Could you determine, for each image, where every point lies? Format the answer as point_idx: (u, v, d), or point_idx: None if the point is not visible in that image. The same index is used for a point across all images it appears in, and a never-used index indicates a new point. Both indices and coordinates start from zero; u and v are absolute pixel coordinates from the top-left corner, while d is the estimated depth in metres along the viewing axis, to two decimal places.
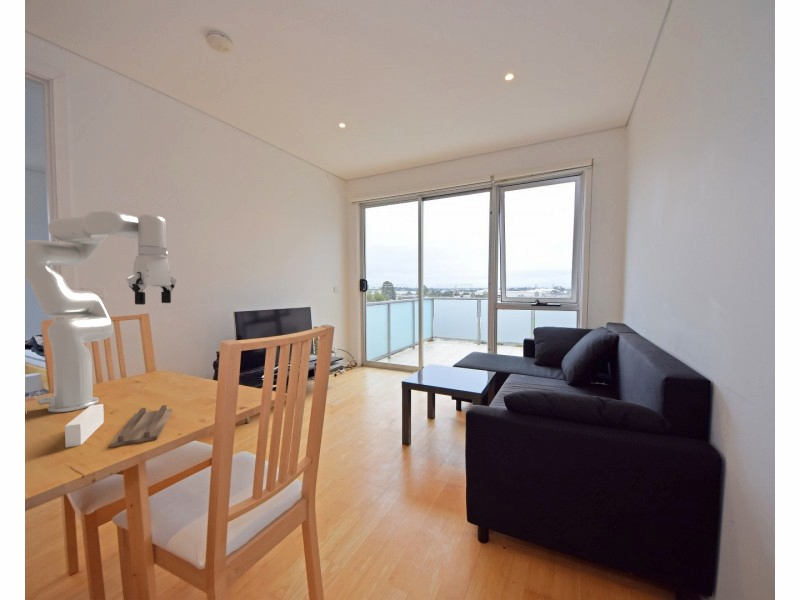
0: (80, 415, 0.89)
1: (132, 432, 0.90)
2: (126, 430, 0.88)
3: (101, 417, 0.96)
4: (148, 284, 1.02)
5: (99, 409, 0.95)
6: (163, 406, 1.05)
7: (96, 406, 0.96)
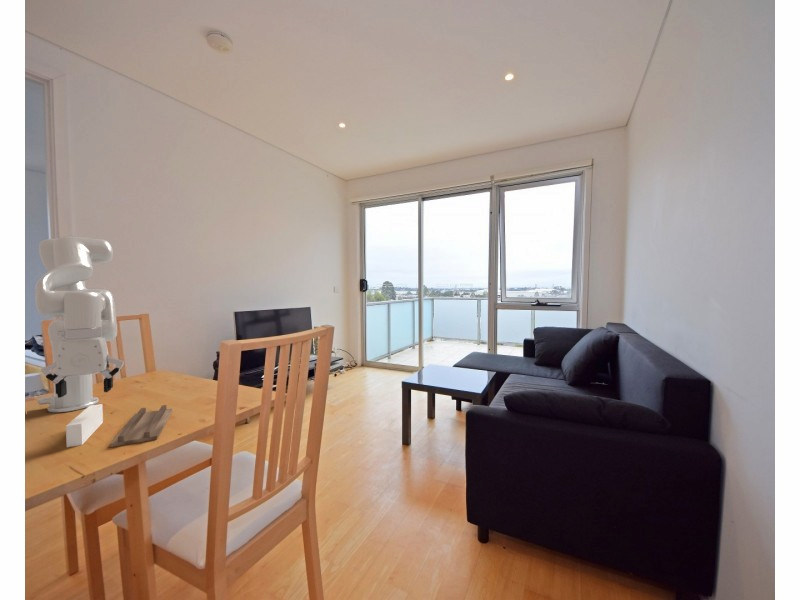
0: (80, 415, 0.89)
1: (132, 432, 0.90)
2: (126, 430, 0.88)
3: (100, 417, 0.96)
4: None
5: (98, 409, 0.95)
6: (163, 406, 1.05)
7: (96, 407, 0.96)
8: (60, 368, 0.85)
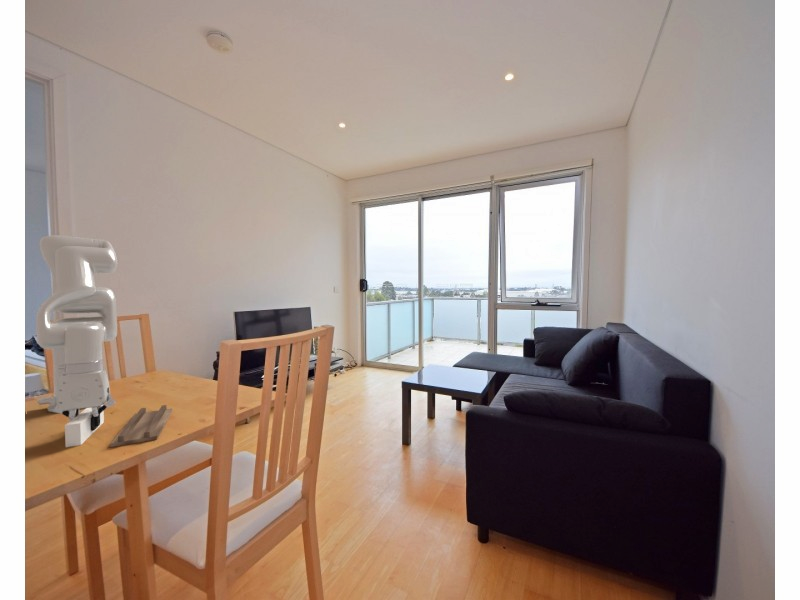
0: (80, 414, 0.89)
1: (132, 432, 0.90)
2: (126, 430, 0.88)
3: (101, 417, 0.96)
4: None
5: None
6: (163, 406, 1.05)
7: None
8: (61, 402, 0.86)
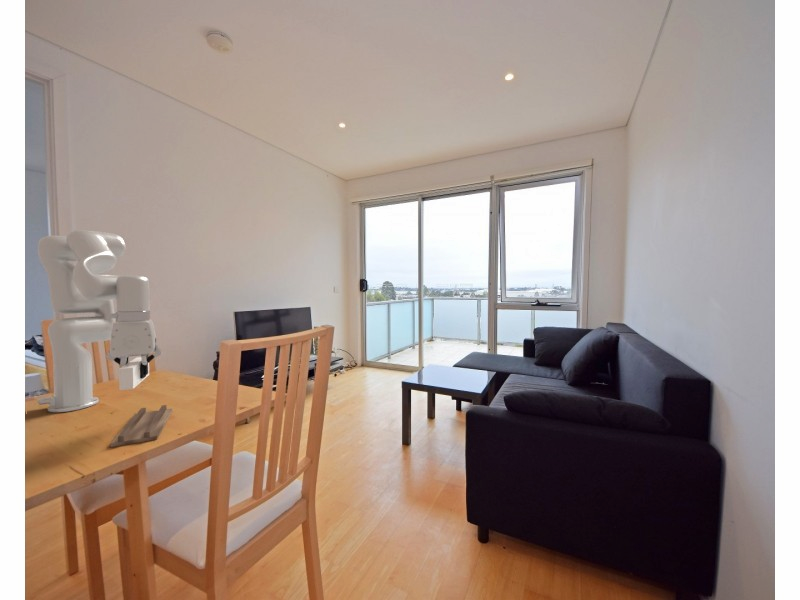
0: (130, 362, 0.92)
1: (132, 432, 0.90)
2: (126, 430, 0.88)
3: None
4: None
5: None
6: (163, 406, 1.05)
7: None
8: (114, 349, 0.89)
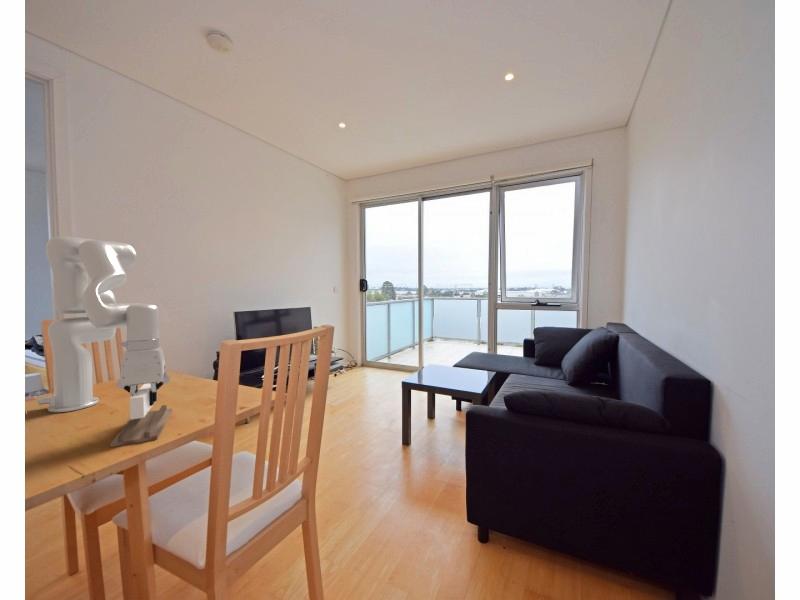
0: (140, 390, 0.94)
1: (132, 432, 0.90)
2: (126, 430, 0.88)
3: None
4: None
5: None
6: (163, 406, 1.05)
7: None
8: (124, 377, 0.90)
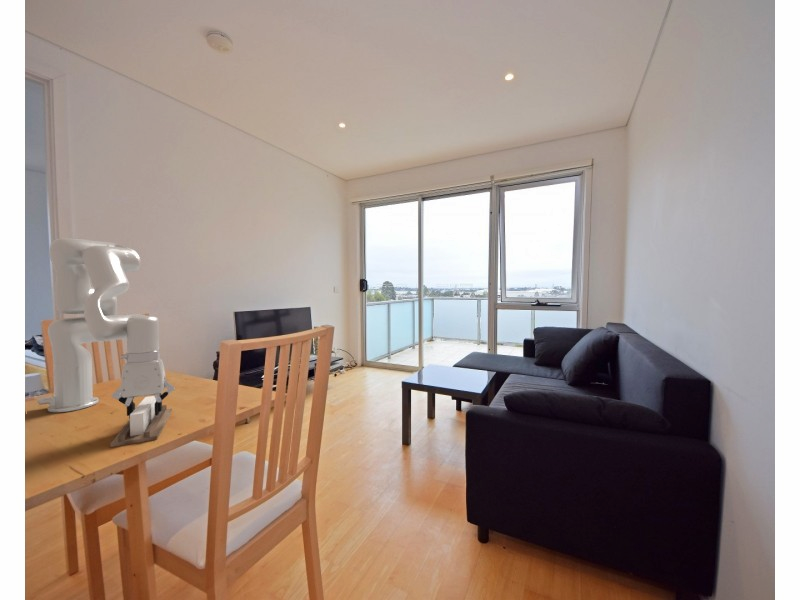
0: (140, 405, 0.94)
1: None
2: (126, 430, 0.88)
3: None
4: None
5: (154, 400, 1.00)
6: (163, 406, 1.05)
7: (152, 398, 1.00)
8: (124, 390, 0.91)
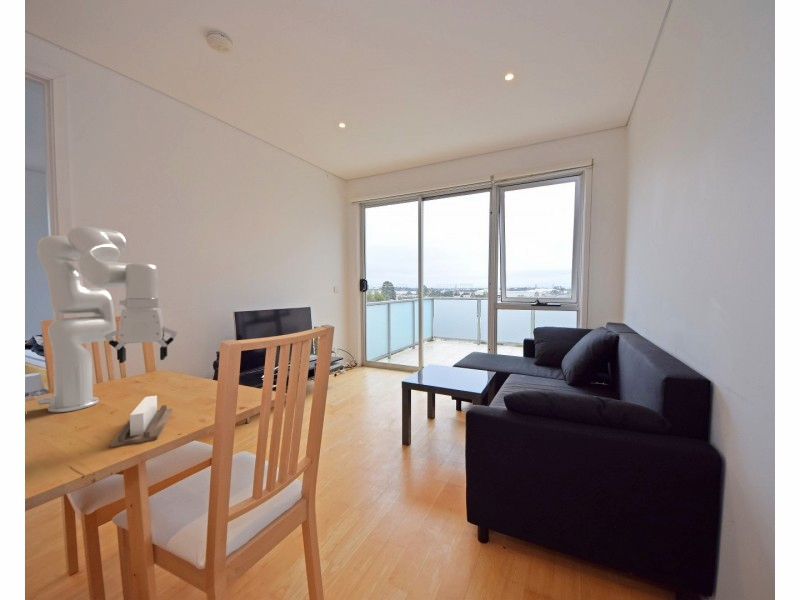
0: (140, 405, 0.94)
1: None
2: (126, 430, 0.88)
3: (155, 408, 1.01)
4: None
5: (154, 400, 1.00)
6: (163, 406, 1.05)
7: (152, 398, 1.00)
8: (122, 335, 0.90)
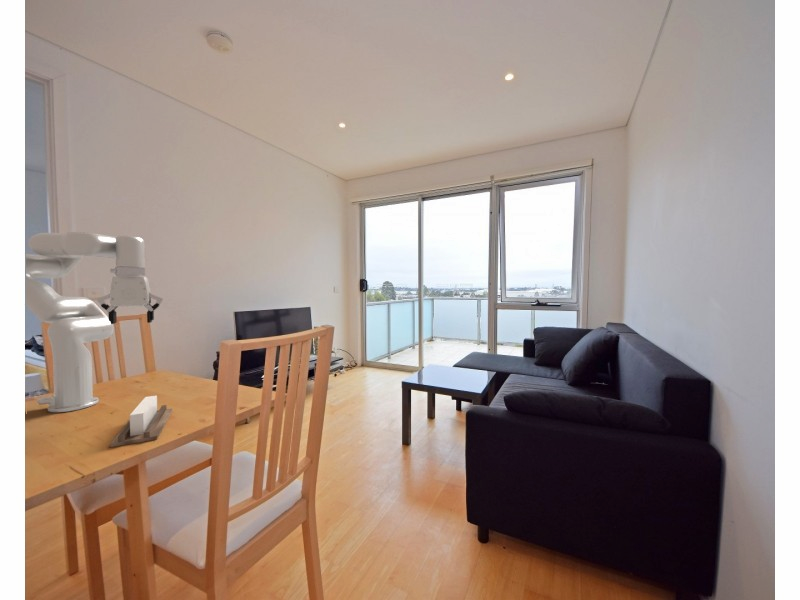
0: (140, 405, 0.94)
1: None
2: (126, 430, 0.88)
3: (155, 408, 1.01)
4: None
5: (154, 400, 1.00)
6: (163, 406, 1.05)
7: (152, 398, 1.00)
8: (113, 299, 1.02)
